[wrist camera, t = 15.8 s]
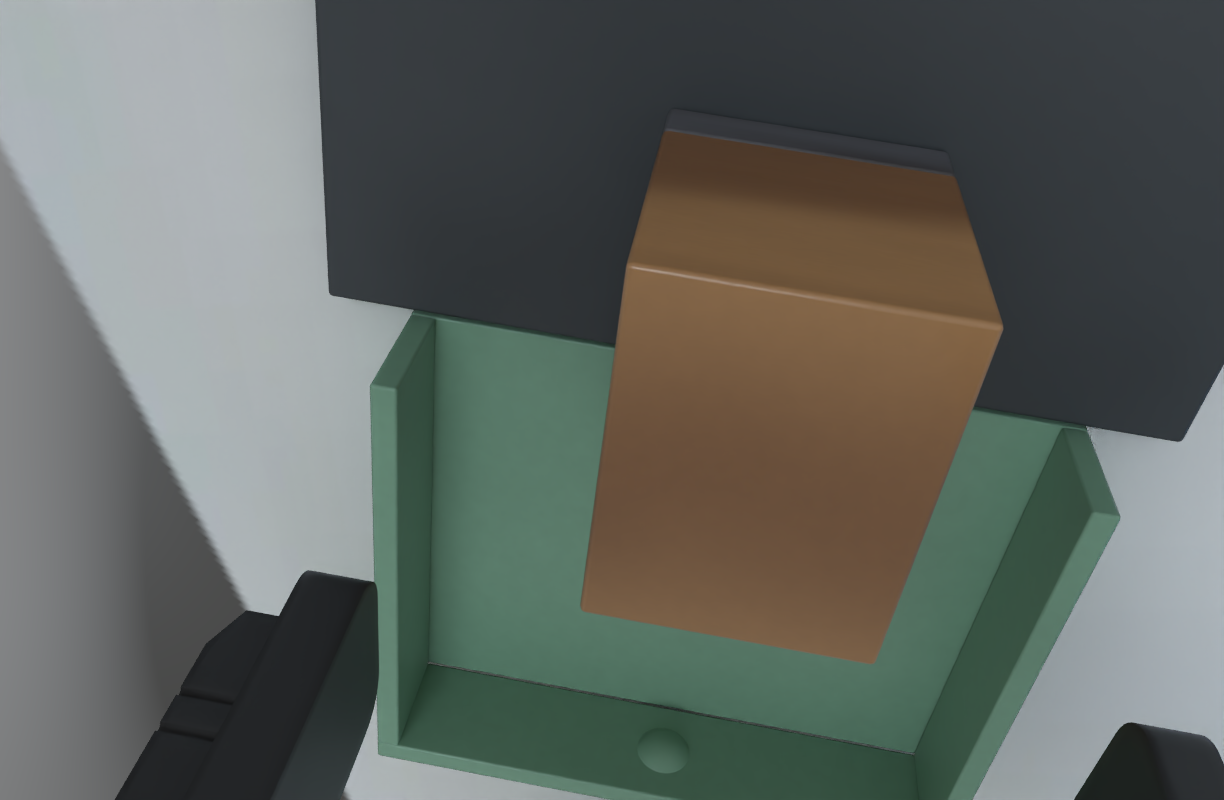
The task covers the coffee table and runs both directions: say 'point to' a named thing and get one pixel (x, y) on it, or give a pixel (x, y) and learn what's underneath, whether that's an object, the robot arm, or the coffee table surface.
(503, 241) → the slate
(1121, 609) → the coffee table surface
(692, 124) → the eraser
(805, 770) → the dustpan
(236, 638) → the robot arm
